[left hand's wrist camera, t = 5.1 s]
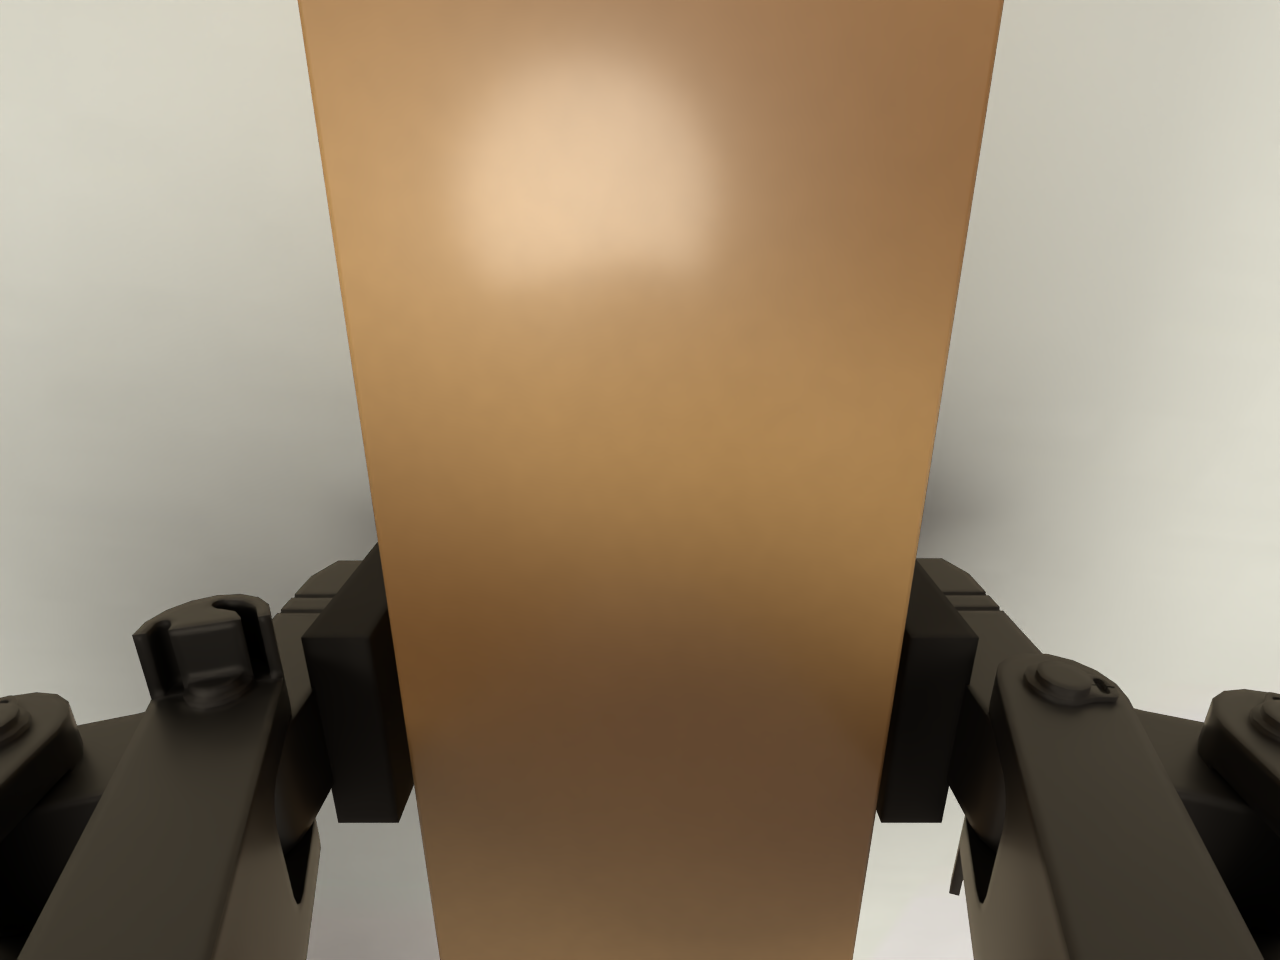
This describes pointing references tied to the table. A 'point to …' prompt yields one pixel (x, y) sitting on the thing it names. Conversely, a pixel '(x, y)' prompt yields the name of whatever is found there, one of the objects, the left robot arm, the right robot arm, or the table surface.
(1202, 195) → the table surface
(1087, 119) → the table surface
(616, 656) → the post
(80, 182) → the table surface
